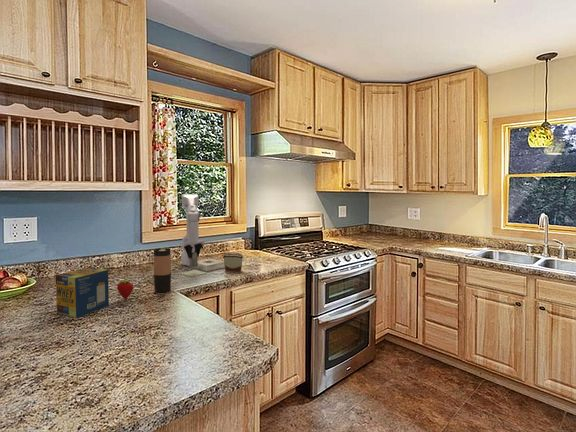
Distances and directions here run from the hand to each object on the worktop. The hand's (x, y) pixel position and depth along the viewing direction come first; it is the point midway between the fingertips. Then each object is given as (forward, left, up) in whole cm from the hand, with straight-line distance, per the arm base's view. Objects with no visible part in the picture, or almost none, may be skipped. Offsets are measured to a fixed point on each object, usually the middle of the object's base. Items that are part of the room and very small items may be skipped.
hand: (193, 257), depth 199 cm
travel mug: (+16, -30, -10) cm, 35 cm away
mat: (0, 0, -9) cm, 9 cm away
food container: (+12, +20, -10) cm, 25 cm away
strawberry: (+14, -47, -10) cm, 50 cm away
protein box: (+14, -64, -10) cm, 66 cm away
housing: (-5, +15, -9) cm, 18 cm away
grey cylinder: (0, 0, -5) cm, 5 cm away
